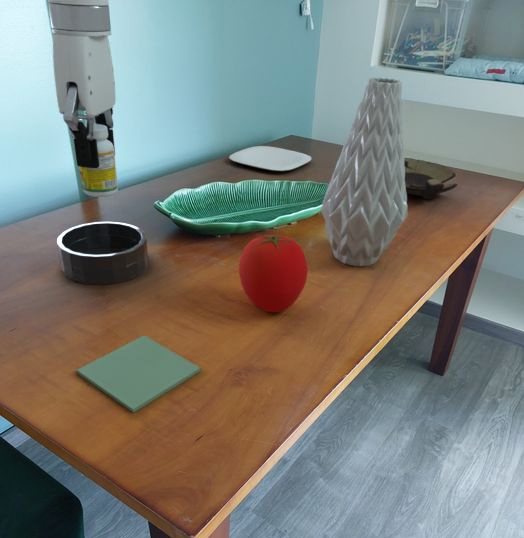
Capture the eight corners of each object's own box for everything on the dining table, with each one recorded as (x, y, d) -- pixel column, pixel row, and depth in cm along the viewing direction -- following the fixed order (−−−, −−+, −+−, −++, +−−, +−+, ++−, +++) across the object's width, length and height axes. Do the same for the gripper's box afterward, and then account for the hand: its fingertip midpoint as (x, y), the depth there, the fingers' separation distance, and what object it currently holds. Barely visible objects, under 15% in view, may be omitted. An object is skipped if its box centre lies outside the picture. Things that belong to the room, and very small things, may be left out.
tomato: (316, 312, 91) (326, 241, 83) (267, 331, 85) (272, 258, 77) (274, 285, 98) (279, 218, 90) (226, 302, 92) (227, 231, 84)
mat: (133, 413, 68) (133, 409, 67) (76, 373, 74) (76, 369, 73) (200, 371, 75) (200, 367, 75) (144, 338, 81) (144, 335, 81)
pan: (96, 294, 92) (92, 265, 88) (45, 265, 99) (39, 237, 96) (165, 265, 102) (163, 238, 99) (113, 241, 109) (110, 215, 106)
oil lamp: (453, 182, 155) (460, 155, 151) (453, 217, 131) (461, 186, 127) (377, 171, 160) (381, 145, 155) (363, 203, 136) (368, 173, 131)
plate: (283, 178, 149) (284, 172, 148) (220, 163, 158) (220, 157, 157) (318, 161, 165) (319, 156, 164) (258, 148, 174) (259, 143, 173)
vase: (399, 281, 102) (441, 92, 83) (312, 270, 103) (334, 83, 85) (395, 245, 115) (431, 77, 96) (319, 236, 117) (339, 69, 98)
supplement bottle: (115, 198, 81) (109, 132, 76) (79, 197, 81) (70, 130, 75) (120, 186, 86) (114, 123, 80) (85, 185, 85) (77, 121, 80)
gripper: (81, 15, 78) (95, 144, 88) (20, 22, 64) (46, 175, 74) (131, 19, 77) (140, 149, 87) (80, 27, 63) (98, 181, 73)
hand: (96, 159), depth 80 cm, fingers closed on supplement bottle, 5 cm apart
